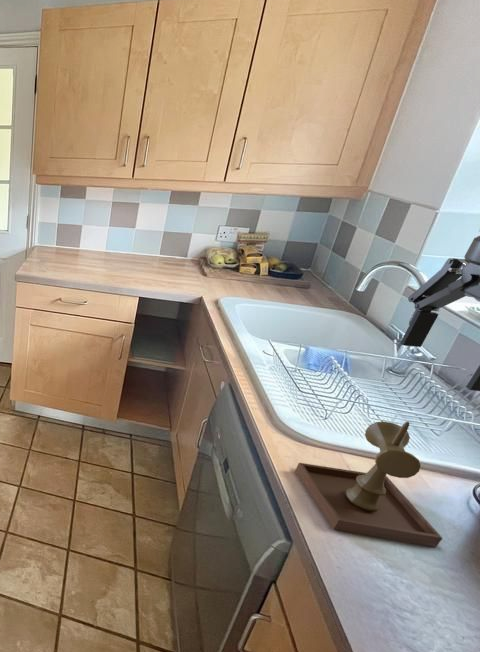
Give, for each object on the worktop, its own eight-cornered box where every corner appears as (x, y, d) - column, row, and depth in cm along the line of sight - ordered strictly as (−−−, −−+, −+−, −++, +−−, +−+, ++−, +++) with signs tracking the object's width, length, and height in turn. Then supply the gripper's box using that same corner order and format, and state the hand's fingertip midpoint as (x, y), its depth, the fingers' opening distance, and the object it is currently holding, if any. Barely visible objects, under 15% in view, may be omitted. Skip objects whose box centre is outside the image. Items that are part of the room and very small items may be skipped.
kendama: (375, 492, 83) (423, 413, 75) (386, 528, 76) (440, 445, 68) (338, 479, 86) (379, 401, 78) (344, 512, 79) (391, 430, 71)
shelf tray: (381, 484, 86) (386, 475, 85) (436, 547, 74) (443, 538, 73) (294, 471, 89) (298, 462, 88) (333, 529, 77) (338, 520, 76)
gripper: (417, 219, 71) (365, 328, 80) (580, 265, 49) (483, 410, 57) (469, 222, 70) (410, 332, 78) (661, 271, 47) (549, 418, 56)
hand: (441, 365), depth 68 cm, fingers open, 13 cm apart
